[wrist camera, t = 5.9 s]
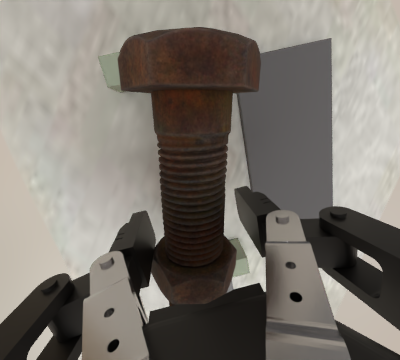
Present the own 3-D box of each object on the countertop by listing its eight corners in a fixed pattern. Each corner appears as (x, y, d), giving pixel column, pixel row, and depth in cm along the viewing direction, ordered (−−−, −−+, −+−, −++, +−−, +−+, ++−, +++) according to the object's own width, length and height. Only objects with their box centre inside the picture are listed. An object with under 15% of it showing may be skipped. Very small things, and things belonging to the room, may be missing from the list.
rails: (112, 67, 18) (97, 56, 14) (202, 48, 18) (208, 32, 15) (187, 304, 26) (189, 331, 23) (246, 289, 27) (256, 313, 23)
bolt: (181, 272, 17) (173, 65, 12) (242, 293, 15) (266, 58, 10) (134, 344, 12) (81, 35, 7) (217, 389, 10) (236, 8, 5)
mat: (232, 61, 18) (234, 59, 18) (326, 40, 19) (331, 37, 18) (258, 236, 24) (260, 239, 24) (329, 218, 25) (332, 220, 24)
